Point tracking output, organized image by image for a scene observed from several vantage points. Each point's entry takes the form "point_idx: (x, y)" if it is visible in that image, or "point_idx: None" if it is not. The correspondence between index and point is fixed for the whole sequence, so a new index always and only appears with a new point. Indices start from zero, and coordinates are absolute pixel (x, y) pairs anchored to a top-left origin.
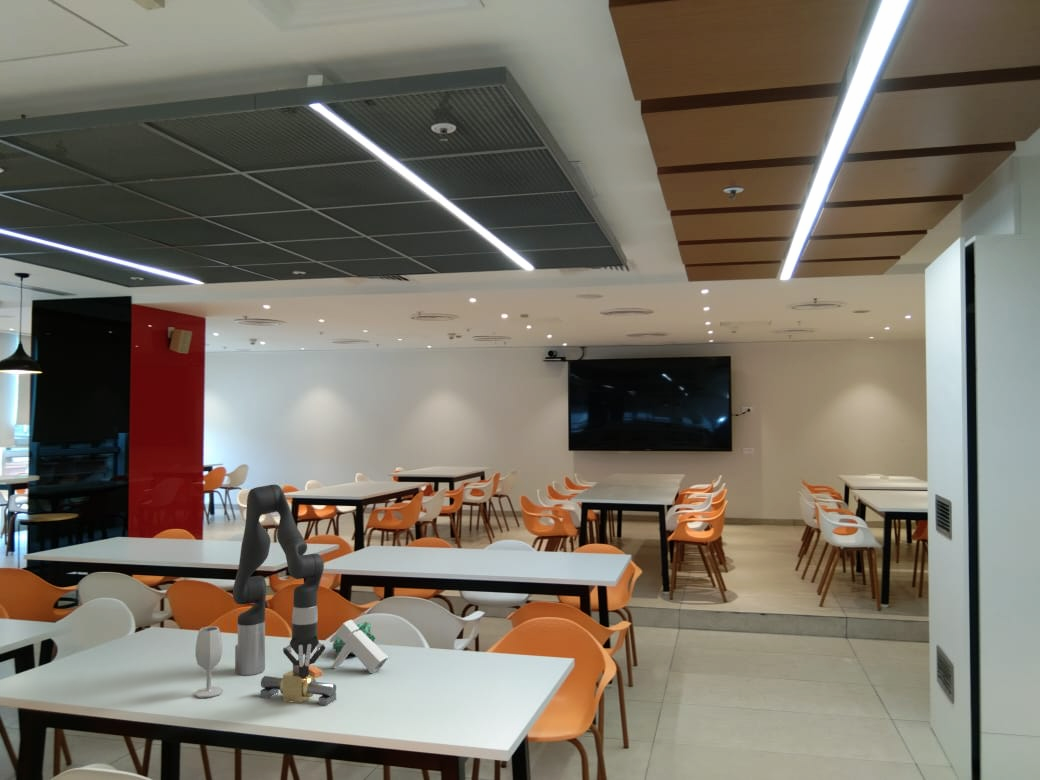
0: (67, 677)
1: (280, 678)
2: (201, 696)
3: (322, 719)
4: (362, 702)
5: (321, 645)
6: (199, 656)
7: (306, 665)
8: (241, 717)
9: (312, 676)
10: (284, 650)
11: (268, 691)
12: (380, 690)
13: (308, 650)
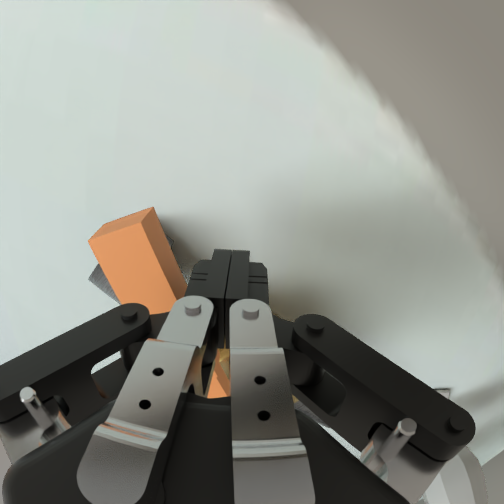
0: (487, 451)
1: (298, 404)
2: (446, 391)
3: (176, 72)
4: (34, 199)
5: (5, 429)
6: (478, 462)
7: (200, 300)
8: (439, 241)
9: (169, 245)
10: (472, 434)
11: (330, 374)
12: (5, 277)
13: (142, 419)
